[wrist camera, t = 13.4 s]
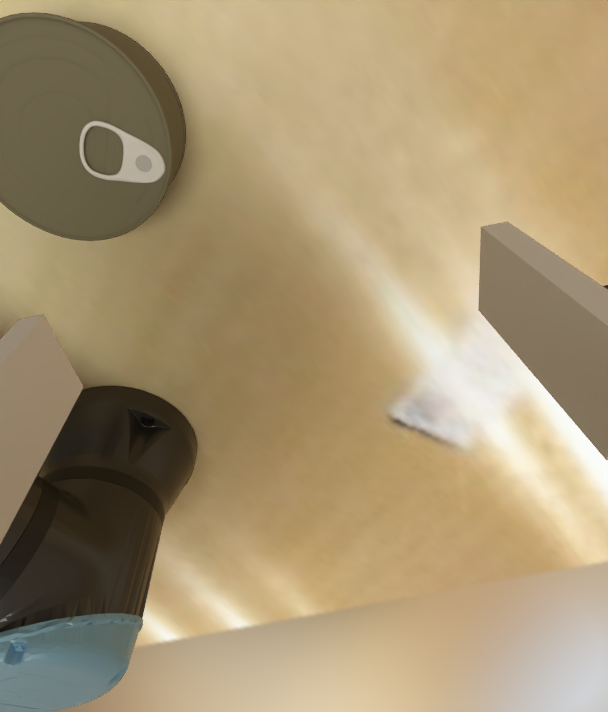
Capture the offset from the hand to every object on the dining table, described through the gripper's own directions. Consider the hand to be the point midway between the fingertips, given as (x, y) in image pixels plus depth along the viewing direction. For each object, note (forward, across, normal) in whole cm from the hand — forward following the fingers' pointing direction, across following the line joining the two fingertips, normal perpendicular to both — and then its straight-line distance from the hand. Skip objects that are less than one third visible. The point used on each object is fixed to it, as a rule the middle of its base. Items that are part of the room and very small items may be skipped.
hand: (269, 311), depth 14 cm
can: (+25, -11, +4) cm, 27 cm away
